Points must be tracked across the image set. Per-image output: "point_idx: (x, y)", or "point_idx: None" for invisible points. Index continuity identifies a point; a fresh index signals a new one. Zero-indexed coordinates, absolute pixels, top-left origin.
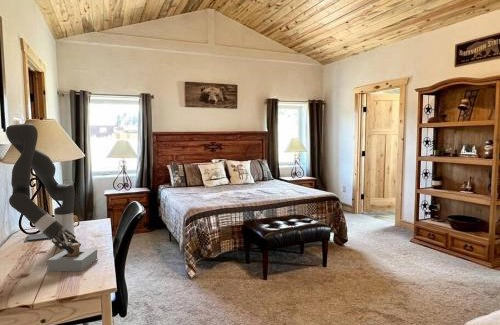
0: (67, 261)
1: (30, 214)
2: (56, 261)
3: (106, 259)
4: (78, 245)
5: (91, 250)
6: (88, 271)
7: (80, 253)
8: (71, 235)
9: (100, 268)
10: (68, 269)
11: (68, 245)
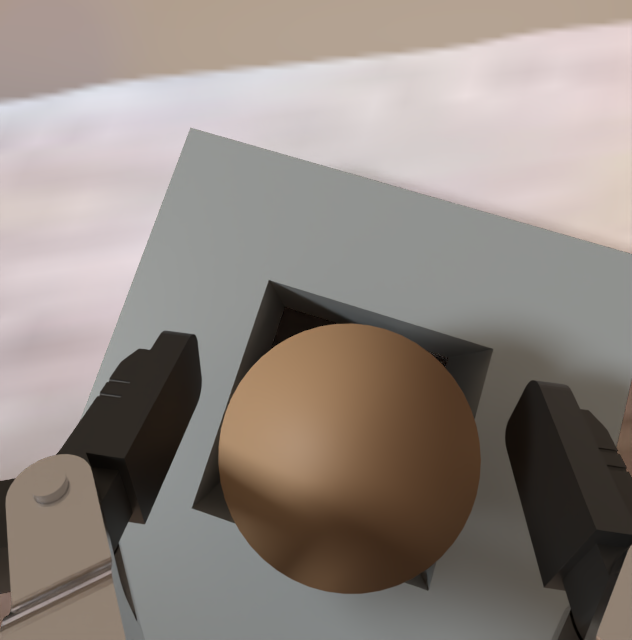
0: None
1: None
2: None
3: (260, 102)
4: (393, 335)
5: (230, 196)
6: (586, 228)
7: (251, 346)
8: (21, 627)
9: (525, 127)
10: None
11: (387, 557)
